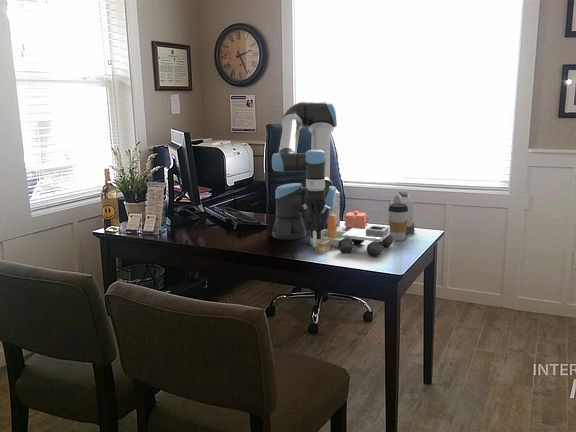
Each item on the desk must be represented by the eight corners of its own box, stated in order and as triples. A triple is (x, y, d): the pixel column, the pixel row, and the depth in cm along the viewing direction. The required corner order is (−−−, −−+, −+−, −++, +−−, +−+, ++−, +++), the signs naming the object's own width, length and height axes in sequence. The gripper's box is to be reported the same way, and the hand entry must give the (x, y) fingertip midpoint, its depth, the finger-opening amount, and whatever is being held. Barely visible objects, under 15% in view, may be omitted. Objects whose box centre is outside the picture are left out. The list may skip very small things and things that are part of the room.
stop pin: (326, 240, 233) (326, 215, 231) (329, 238, 236) (329, 213, 234) (334, 241, 231) (334, 216, 229) (337, 239, 234) (337, 214, 232)
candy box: (323, 219, 275) (323, 187, 272) (335, 219, 276) (335, 187, 272) (328, 226, 262) (327, 192, 258) (340, 225, 262) (340, 192, 259)
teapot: (340, 232, 250) (340, 214, 249) (345, 224, 265) (345, 207, 263) (366, 233, 248) (366, 215, 246) (370, 225, 262) (370, 208, 260)
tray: (310, 244, 231) (310, 236, 230) (323, 236, 243) (323, 229, 243) (341, 248, 225) (341, 240, 224) (353, 240, 237) (353, 232, 236)
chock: (314, 252, 221) (314, 242, 220) (321, 248, 226) (321, 239, 225) (324, 253, 219) (323, 243, 218) (330, 249, 224) (330, 240, 223)
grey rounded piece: (418, 235, 243) (419, 194, 238) (395, 236, 242) (396, 195, 238) (408, 226, 258) (409, 188, 254) (386, 227, 258) (387, 189, 253)
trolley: (338, 252, 219) (337, 230, 217) (352, 242, 233) (352, 222, 231) (380, 257, 211) (381, 235, 209) (393, 247, 225) (393, 225, 223)
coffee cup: (407, 241, 232) (408, 207, 229) (387, 241, 234) (388, 206, 231) (407, 236, 240) (408, 203, 237) (388, 236, 242) (388, 202, 239)
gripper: (296, 189, 218) (297, 247, 223) (326, 191, 211) (326, 250, 216) (305, 186, 224) (305, 242, 229) (334, 188, 218) (334, 246, 223)
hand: (316, 246), depth 223 cm, fingers closed
